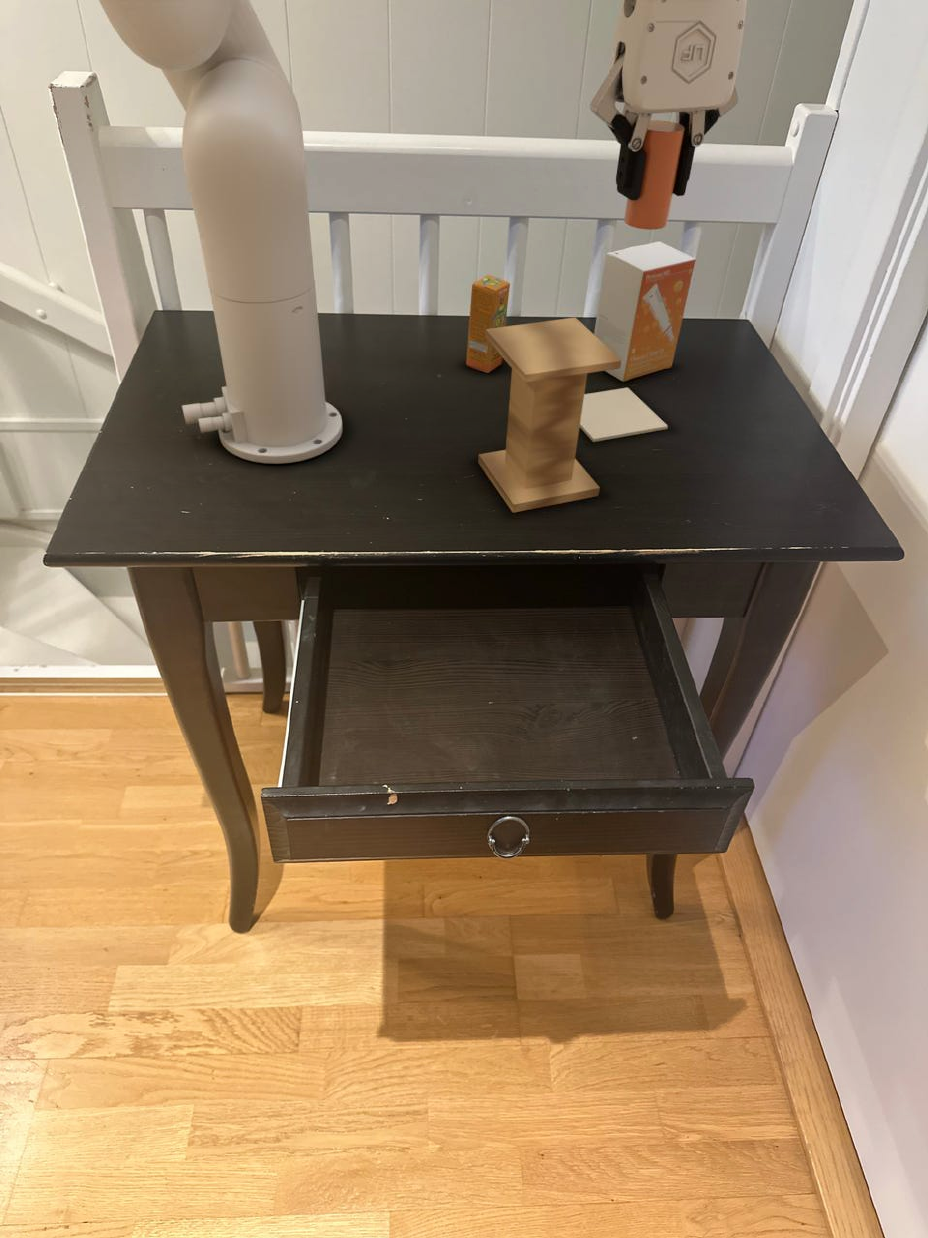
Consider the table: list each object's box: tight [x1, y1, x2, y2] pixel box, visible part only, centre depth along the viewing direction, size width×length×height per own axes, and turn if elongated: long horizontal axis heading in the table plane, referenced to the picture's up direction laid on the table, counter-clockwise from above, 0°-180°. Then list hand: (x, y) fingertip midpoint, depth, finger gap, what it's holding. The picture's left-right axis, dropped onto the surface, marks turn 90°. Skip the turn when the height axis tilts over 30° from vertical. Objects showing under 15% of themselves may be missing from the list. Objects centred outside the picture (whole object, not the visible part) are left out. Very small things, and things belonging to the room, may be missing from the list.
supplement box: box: [465, 274, 511, 374], centre depth 97 cm, size 3×3×10 cm
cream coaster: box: [579, 387, 669, 443], centre depth 92 cm, size 9×9×1 cm
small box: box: [593, 240, 697, 383], centre depth 97 cm, size 8×6×13 cm
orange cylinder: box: [623, 119, 685, 231], centre depth 76 cm, size 4×4×8 cm
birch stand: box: [477, 317, 621, 514], centre depth 78 cm, size 9×9×14 cm
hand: (650, 191), depth 77 cm, fingers closed on orange cylinder, 4 cm apart
